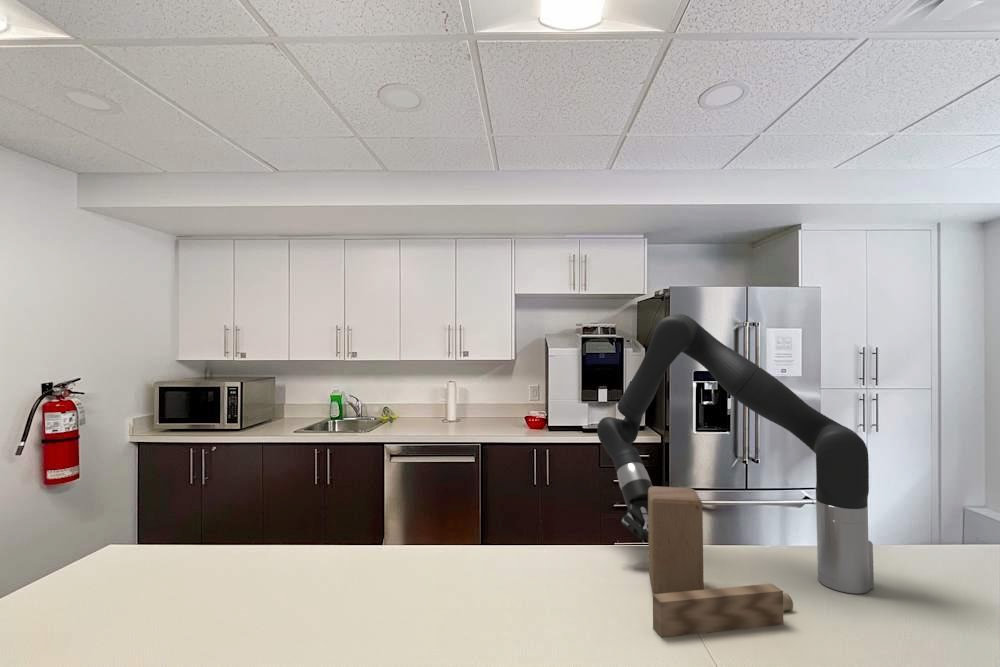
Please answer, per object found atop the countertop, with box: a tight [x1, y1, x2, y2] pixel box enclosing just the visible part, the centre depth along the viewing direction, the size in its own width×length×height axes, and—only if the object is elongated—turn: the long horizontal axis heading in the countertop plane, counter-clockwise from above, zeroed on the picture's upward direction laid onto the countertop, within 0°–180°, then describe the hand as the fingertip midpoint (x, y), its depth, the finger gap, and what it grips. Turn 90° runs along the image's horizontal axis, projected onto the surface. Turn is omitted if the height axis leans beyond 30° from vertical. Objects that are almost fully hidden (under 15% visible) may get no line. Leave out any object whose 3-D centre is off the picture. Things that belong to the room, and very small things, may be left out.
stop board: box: [652, 583, 785, 638], centre depth 93 cm, size 24×3×6 cm, turn 100°
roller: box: [783, 592, 794, 612], centre depth 99 cm, size 10×3×3 cm, turn 100°
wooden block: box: [648, 485, 705, 594], centre depth 109 cm, size 10×10×20 cm
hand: (660, 555), depth 115 cm, fingers closed
